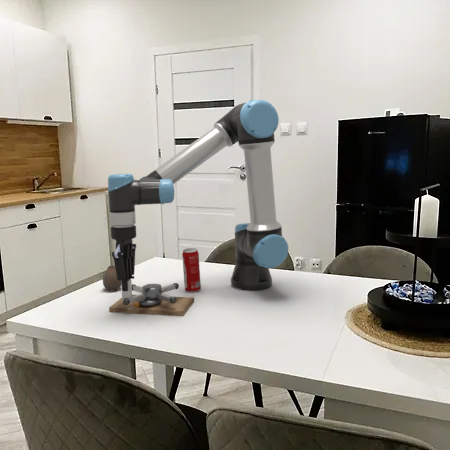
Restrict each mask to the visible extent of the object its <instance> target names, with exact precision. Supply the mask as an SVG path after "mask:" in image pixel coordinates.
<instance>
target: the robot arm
mask: <svg viewBox="0 0 450 450" xmlns="http://www.w3.org/2000/svg"><path fill="white" fill-rule="evenodd" d="M279 118H280V117H279V114H278V112H277V110H276V108H275V106H273V105H272V104H271V103H270V101H267V100H264V99H252V100H249V101H245V102H243V103H239V104H236V106H234V107H233V108H232V109H230V110H229V111H228V112H227V113H226V114H224V116H222V117H221V118H220V119H218V120H217V121H215V122H214V124H213V128H211V129H210V130H209V131H207V132H206V133H204V134H203V135H201V136H200V137H199V138H198V139H196V140H194V141H193V142H191V143H190V144H189V145H187V146H186V147H185V148H183V149H182V150H181V151H179V152H178V153H177V154H175V155H173V156H172V157H171V158H169V159H168V160H166V161H165V162H163V164H161V165H160V166H158V167H157V168H155V169H154V170H153V171H151V172H150V173H149V174H147V175H145V176H142V177H141V178H139V179H135V177H134V174H131V173H115V174H113V173H112V174H110V175H109V176H108V177H107V191H108V193H107V194H108V196H107V197H108V207H109V214H108V217H109V219H110V220H109V221H110V222H109V224H110V225H111V227H110V238H111V239H112V240H115V251H112V252H111V256H112V258H113V262H114V266H115V269H116V274H117V280H118V281H121V296H122V297H121V298H122V301H123V299H124V298H129V297H132V295H133V291H132V284H133V283H132V279H133V280H134V279H135V276H134V275H135V263H136V250H137V243H133V239H135V238H136V237H137V226H136V223H137V220H136V219H137V217H136V206H140V205H165V204H172V203H173V202H174V199H175V186H174V185H175V184H176V183H177V182H179V181H180V180H182V179H183V178H184V177H185V176H187V175H188V174H190V173H192V172H193V171H194V170H195V169H196V168H198V167H200V166H201V165H203V163H205V162H206V161H208V160H209V159H211V158H212V157H214V156H215V155H216V154H217V153H219V152H220V151H222V150H223V149H225V148H226V147H229V148H230V147H232V146H234V145H235V144H236V143H238V147H240V149H242V150H243V154H244V156H243V157H244V165H245V177H246V178H245V179H246V187H247V199H248V207H249V208H248V211H249V219H250V221H249V222H246V223H245V222H244V223H237V224H236V225H235V227H234V251H235V256H234V257H235V265H234V268H233V271H232V275H231V277H230V286H231V287H233V288H234V289H239V290H242V291H243V290H244V291H246V290H247V291H259V290H266V289H269V288H270V287H272V285H273V277H272V275H271V271H270V269H274V268H277V267H278V266H280V265H281V264H283V263H284V261H285V260H286V259H287V257H288V254H289V244H288V242H287V240H286V238H285V237H284V236H283V229H282V228H283V227H282V224H281V223H280V222H279V221H278V220H277V214H276V213H277V211H276V210H277V209H276V200H275V188H274V177H273V176H274V175H273V163H272V152H271V149H272V147H273V146H274V144H275V142H276V141H275V132H276V130H277V129H278V126H279V120H280V119H279Z"/></svg>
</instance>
